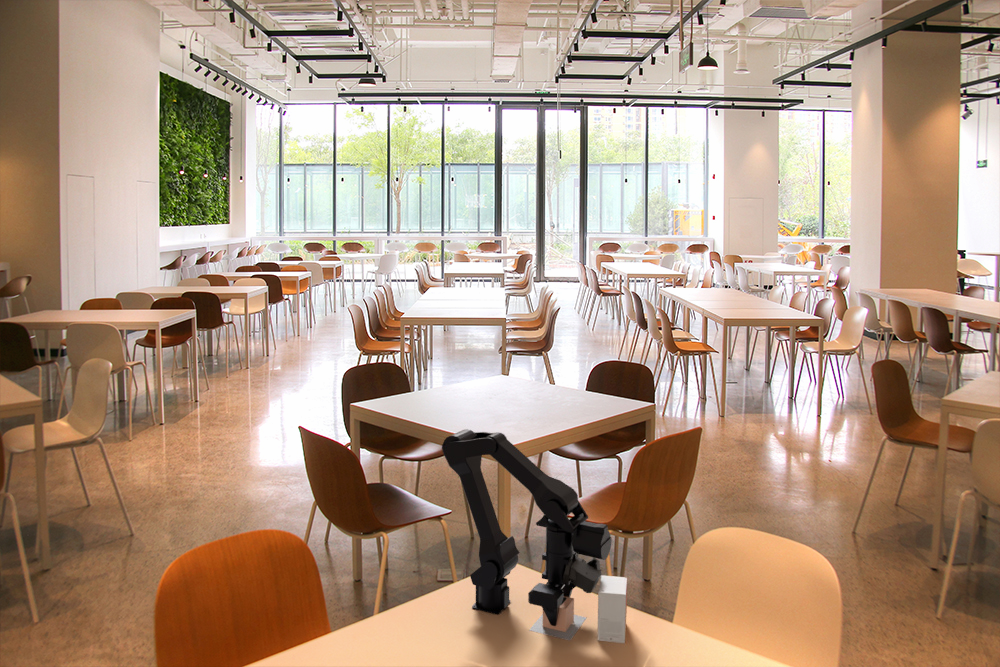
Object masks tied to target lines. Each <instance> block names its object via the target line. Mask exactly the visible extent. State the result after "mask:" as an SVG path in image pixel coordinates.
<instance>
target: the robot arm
mask: <svg viewBox="0 0 1000 667" xmlns="http://www.w3.org/2000/svg"><path fill="white" fill-rule="evenodd" d="M441 450H442V452H441V453H443V457H444V459H446V462H447V464H448V467H450V468H451V469H452V471H454V473H455V474H456V475H458V477H459V479H460V482H461V485H462V488H463V492H464V494H465V498H466V501H467V504H468V507H469V510H470V513H471V516H472V519H473V522H474V525H475V528H476V531H477V534H478V538H479V547H478V559H479V560H478V561H479V565H480V567H478V568H477V569H476V570H475V571H473V572H472V573H471V574H470V575H469V577H470V580H471V583H472V585H473V586H475V602H474V604H473V605H471V609H472V610H476V611H480V612H484V613H488V614H492V615H497V616H498V615H500V614H502V612H503V611H504V610H505V609H506V608H507V607H508V606H509V604H511V599H510V585H508V578H506V577H507V576H508V575H510V574H511V572H512V570H513V569H515V568H516V566H517V565H518V562H519V555H520V553H521V552H520V550H518V548H517V544H516V541H515V537H514V536H513V535H511V536H509V537H508V536H507V535H506V534H505V533H503V531H502V529H501V527H500V523H499V520H498V517H497V514H496V511H495V508H494V504H493V503H492V499H491V497H490V493H489V490H488V487H487V483H486V481H485V479H484V474H483V472H482V469H481V468H482V458H483V456H486V455H487V456H489V455H490V456H491V457H492V458H493V459H494V460H495V461H496V462H497V463H498V464H499V465H500V466H501V467H503V468H504V469H505V470H506V471H507V473H509V474H510V475H511V476H512V477H513V478H514V479H516V480H517V481H518V483H520V484H521V485H523V487H525V489H527V491H529V492H530V494H531V495H532V497H533V500H534V503H535V505H536V506H537V508H538V509H539V510H540V511H541V512H542V514H543V516H542V517H541V518H540V519H538V521H537V522H535V525H536V526H537V527H542V528H545V551H544V552H543V554H542V555H541V560H542V561H545V564H544V565H545V566H544V567H545V568H544V571H543V572H542V573H541V579H543V580H547V581H546V583H541V582H538V583H537V584H536V585H534V586H533V588H532V589H531V590H530V591H529V592H528V599H527V600H528V603H529V605H534V606H539V607H541V608H542V611H543V610H544V612H545V614H546V616H547V618H548V620H549V622H550V624H551V625H552V626H556V624H557V620H558V614H559V608H560V605H562V604H563V603H564V601H565V600H566V599H567V598H565V597H564V596H566V597H570V598H571V595H572V592H573V590H574V589H575V588H576V587H577V588H578V589H581V590H582V591H583V592H584V593H587V594H591V593H592V592H593V591H594V589H595V588H596V587H597V584H598V582H599V580H600V579H601V575H603V574H602V570H603V569H601V563H600V560H603V561H605V560H607V558H608V557H609V555H610V552H611V548H612V540H613V539H612V537H611V533H610V531H609V529H608V525H607V524H605V523H596V522H590V521H587V520H588V519H589V515H588V514H587V512H586V510H585V509H584V508H583V506H582V504H581V502H580V501H579V497H578V492H577V491H576V490H575V489H573V488H572V487H571V486H569V485H568V484H567V483H565V482H564V481H562V480H560V479H557V478H555V477H552V476H549V475H548V474H547V473H545V472H544V471H543V470H542V469H540V467H538V466H537V465H536V464H535V463H534V462H533V461H532V460H531V459H529V457H527V456H526V455H525V454H524V453H523V452H522V451H521V450H520V449H518V448H517V447H516V446H515V445H514V444H513V443H512V442H511V441H510V440H508V439H507V436H506V435H505V434H504V433H502V432H488V431H477V432H474V431H473V430H471V429H468V428H466V429H462V430H460V431H458V432H455V433H453V434H451V435H449V436H447V437H446V438H445V439H443V443H442V444H441ZM571 514H573V516H572V517H571V518H570V519H569V517H568V516H569V515H571ZM579 555H580V556H585V557H590V558H591V559H589V560H588V561H586V560H585V559H584V558H579V557H578V556H579Z"/></svg>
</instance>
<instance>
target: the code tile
mask: <svg viewBox="0 0 1000 667" xmlns="http://www.w3.org/2000/svg"><path fill="white" fill-rule="evenodd" d="M586 619H587V617H585V616H582V615H578V614H577V615H576V614H574V621H573V622H572V624H571V625H570V626H569V628H568V629H567V631H566V632H563V631H559V630H554V629H550V628H546V627H543V613H542V614H541V615H540V616H539V618H538V619H537V620H536V621H535V622H534V623H533V625H532V626H531V627H530V628H529V632H530V631H531V632H534V633H538V634H542V635H545V636H546V635H547V636H550V637H554V638H558V639H562V640H566V641H569V642H570V641H571V640H572V639H573V637H574V636H575V635H576V633H577V632H578V630H579V629H580V628H581V626H582V625H583V624H584V623H585V621H586Z"/></svg>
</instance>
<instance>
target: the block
mask: <svg viewBox="0 0 1000 667" xmlns="http://www.w3.org/2000/svg"><path fill="white" fill-rule="evenodd" d="M564 597H565V598H567V599H566V600H565V601H564V603H563V604H562V605H560V608H559V614H558V620H557V624H556V626H552V625H551V624H550V622H549V620H548V618H547V616H546V614H545V612H544V610H543V609H542V614H543V627H546V628H550V629H554V630H559V631H563V632H566V631H567V629H568V628H569V626H570V625H571V624H572V622H573V621H574V615H575V598H574V597H571V596H570V597H566V596H564Z"/></svg>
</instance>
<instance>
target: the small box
mask: <svg viewBox="0 0 1000 667" xmlns="http://www.w3.org/2000/svg"><path fill="white" fill-rule="evenodd" d="M597 593H598V594H597V595H598V596H597V597H598V599H597V600H598V601H597V637H596V638H597V641H602V642H608V643H609V642H610V643H617V644H625V643H626V631H627V611H628V610H627V608H628V606H627V605H628V577H624V576H613V575H603V574H602V575H601V576H600V582H599V588H598V592H597Z"/></svg>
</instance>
